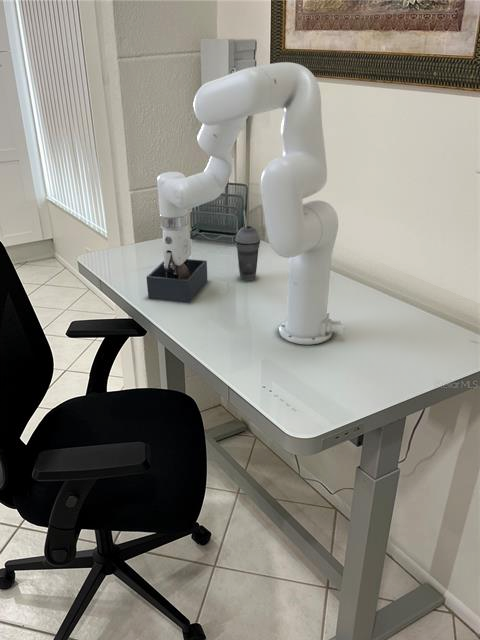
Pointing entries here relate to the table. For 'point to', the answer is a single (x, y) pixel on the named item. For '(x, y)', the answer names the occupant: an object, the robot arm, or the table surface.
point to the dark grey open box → (177, 283)
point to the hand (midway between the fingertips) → (178, 281)
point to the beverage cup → (247, 251)
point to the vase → (182, 271)
